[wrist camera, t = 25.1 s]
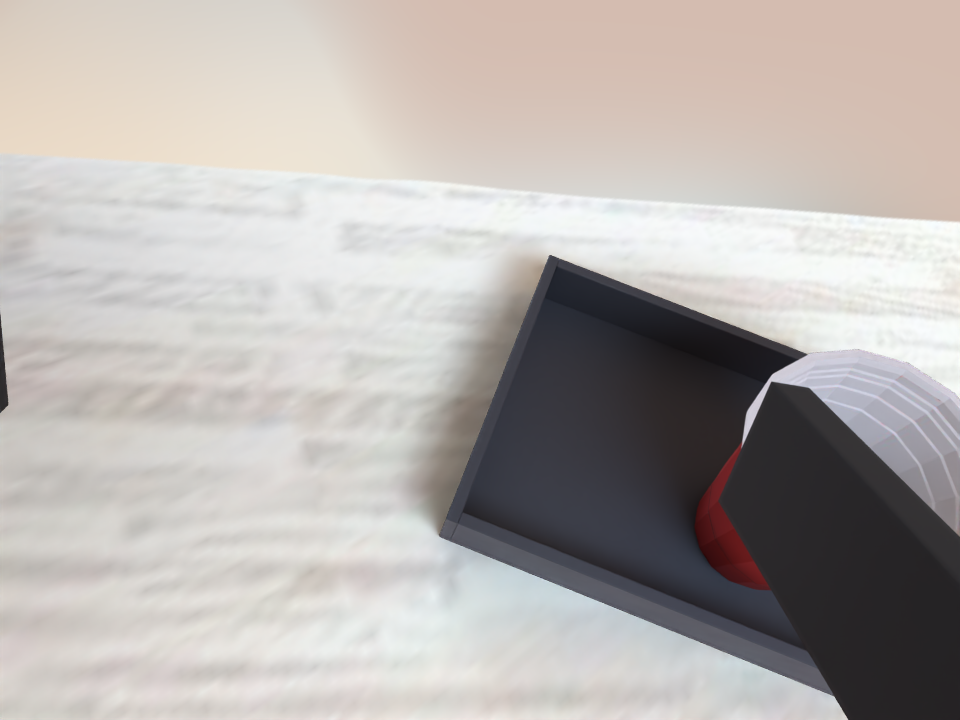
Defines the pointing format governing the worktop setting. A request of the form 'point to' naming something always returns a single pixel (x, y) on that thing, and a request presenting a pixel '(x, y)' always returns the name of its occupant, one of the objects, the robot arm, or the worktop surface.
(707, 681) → the worktop surface
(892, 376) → the plastic cup
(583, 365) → the dark grey tray
